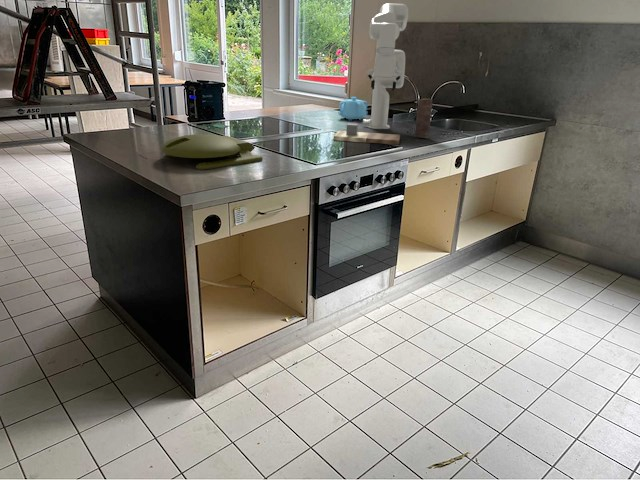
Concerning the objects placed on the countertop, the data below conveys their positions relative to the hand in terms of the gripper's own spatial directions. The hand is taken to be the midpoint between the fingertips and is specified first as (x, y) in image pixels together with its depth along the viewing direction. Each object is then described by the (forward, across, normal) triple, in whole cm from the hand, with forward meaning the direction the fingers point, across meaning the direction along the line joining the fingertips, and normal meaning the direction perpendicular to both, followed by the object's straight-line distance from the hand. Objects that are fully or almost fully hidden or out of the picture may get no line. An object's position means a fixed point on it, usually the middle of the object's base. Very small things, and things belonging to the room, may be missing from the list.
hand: (383, 89), depth 234 cm
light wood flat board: (+24, -6, 0) cm, 25 cm away
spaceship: (+25, -64, -65) cm, 95 cm away
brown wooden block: (+24, +21, +14) cm, 35 cm away
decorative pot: (+25, -22, +64) cm, 72 cm away
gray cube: (+22, -14, 0) cm, 26 cm away
